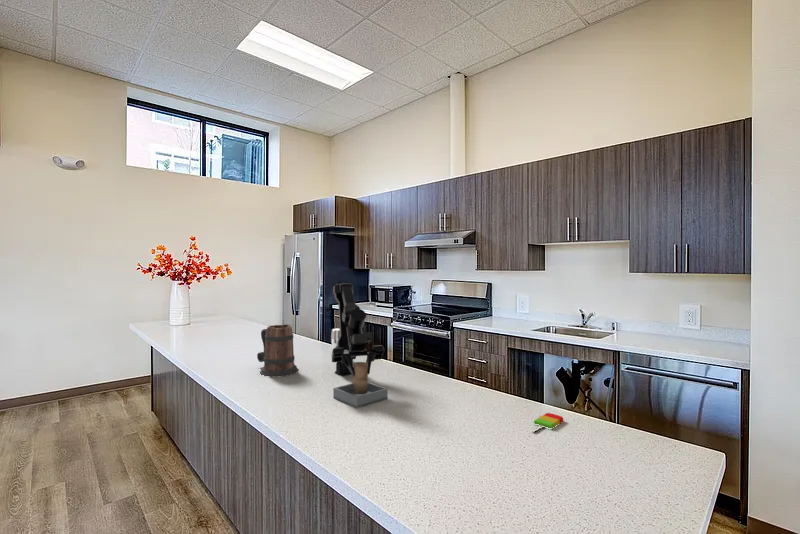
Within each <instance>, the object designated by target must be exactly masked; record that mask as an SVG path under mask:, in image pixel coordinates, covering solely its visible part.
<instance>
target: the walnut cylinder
mask: <svg viewBox="0 0 800 534" xmlns="http://www.w3.org/2000/svg"><path fill="white" fill-rule="evenodd" d="M353 368H354V376H353V375H352V376H353V382H352V383H353V393H355V394H366V393H367V392H368V382H369V379H368V377H369V374H368V363H366V361H364V362H363V361H358V362H353Z"/></svg>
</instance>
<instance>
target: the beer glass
mask: <svg viewBox="0 0 800 534" xmlns="http://www.w3.org/2000/svg"><path fill="white" fill-rule="evenodd" d="M339 338H340V327H338V328H337V327H336V328H332V329H331V335H330V341H331V347H332V350H333V349H334V348H336V346H337V342H338V340H339Z"/></svg>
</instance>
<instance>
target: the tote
mask: <svg viewBox="0 0 800 534" xmlns="http://www.w3.org/2000/svg"><path fill="white" fill-rule="evenodd" d="M332 390H333V394H332V395H333V397H332V398H333V399H335V400H337V401H339V402H342V403H345V404H347V405H349V406H351V407H353V406H354V408H355V409H358V407H359V408H362V407H365V406H368V404H369V405H371V403H372V404H375V403H378V402H381V400H382V401H384V399H385V400H387V399H389V397H388V395H389V394H388V393H389V389H388V388H386V387H384V386H380V385H378V384H375V383H373V382H370V381H368V392H367V393H366V394H355V393H353V382H352V383H348V384H343V385H341V386H336V387H333V389H332ZM374 402H375V403H374ZM361 406H362V407H361Z"/></svg>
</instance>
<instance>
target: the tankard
mask: <svg viewBox="0 0 800 534" xmlns="http://www.w3.org/2000/svg"><path fill="white" fill-rule="evenodd" d="M260 336H261V340H262V345H263V351H259V352H258V353H257V354H256V356H257V360H258V362H259V363H264V364H263V366H262V368H261V370H260V371H259V372H260V374H261V375H260V374H259V375H260V376H262V375H264V376H263V377H266V376H282V377H286V376H285V375H288V376H291V375H290V374H292V375H295V374H297V373H299V372H300V369H299V368H298V366H297V365H296V364H295V361H296V360H295V354H294V352H295V351H294V334H293V330H292V325H291V324H273V325H269V326H267V327H266V328H264V329H262V330H261V332H260ZM298 371H299V372H298ZM296 372H297V373H296ZM294 373H295V374H294Z"/></svg>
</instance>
